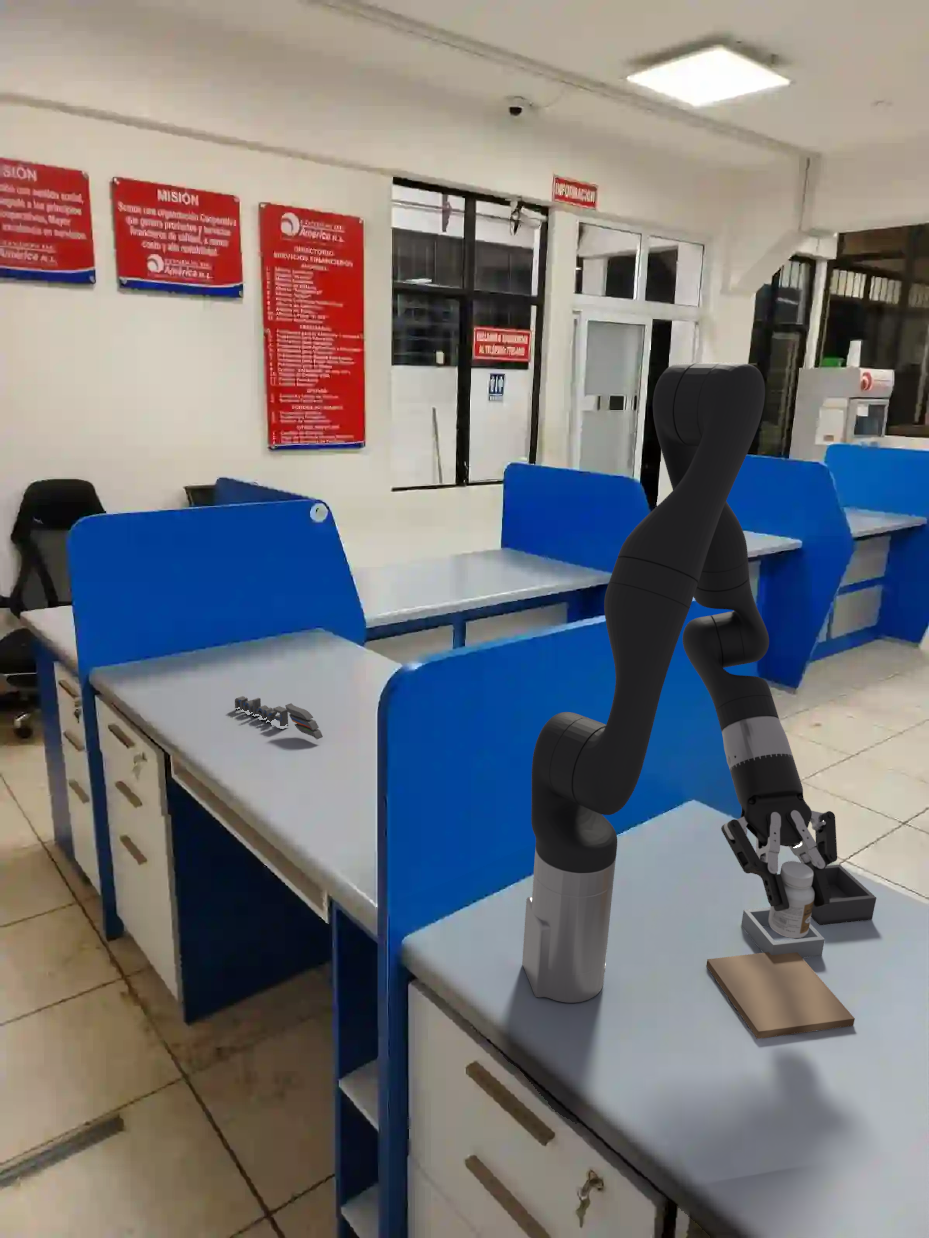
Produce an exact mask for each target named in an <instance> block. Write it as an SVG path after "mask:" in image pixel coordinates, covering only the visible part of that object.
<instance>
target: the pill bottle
mask: <svg viewBox="0 0 929 1238" xmlns="http://www.w3.org/2000/svg"><path fill="white" fill-rule="evenodd" d="M779 874H781V877H782V881H783V884H784V888H785V891H786V895H787V898H788V902H789V909H786V910H783V911H775V909H774V906H771V905H770V906H769V907H770V913H769V925H770V926H769V927H770V929H772V930H773V931H774V932H775V933H777V934H779V935H781V936H783V937H786V938H791V939H801V938H800V937H803V936H805V935H806V934H807V933H808V931H809V925H810V924H811V919H812V917H811V913H812V908H813V902H814V897H815V892H814V889H813V887H812V886H811V885H812V881H813V870H812V869H811V868H810V867H809V866H807V865H805V864H803V863H801V861H800V862H799V861H795V860H788V861H785V862H783V863H782V864H781V867H780V872H779Z"/></svg>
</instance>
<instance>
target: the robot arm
mask: <svg viewBox="0 0 929 1238" xmlns="http://www.w3.org/2000/svg"><path fill="white" fill-rule="evenodd" d="M765 386H766V385H765V379H764V377H763V374H762V373H761V371H760V369H758V368H757V367H756V366H754V365H753V364H750V363H744V362H732V361H731V362H730V361H729V362H727V361H726V362H724V361H723V362H721V361H718V362H717V361H712V362H711V361H709V362H706V361H704V362H703V361H701V362H698V361H697V362H679V363H675V364H672V365H670V366H668V367H667V368H666V369H664V371H663V372H662V373H661V375H660V376H659V378H658V380H657V383H656V385H655V386H654V387H655V388H654V390H653V399H652V414H653V416H652V417H653V423H654V427H655V431H656V436H657V439H658V443H659V446H660V447H659V448H660V449H661V454H662V457H663V460H664V465H665V467H666V471H667V475H668V478H669V483H670V485H671V488H672V491H671V492H670V493H669V494H668V495H667V496H666V497H665V498H664V499H663V500H662V501H661V502H660V503H659V504H658V505H657V506H655V508H654V509H652V511H650V512H649V513H648V514H647V515H646V516H645V517H644V518H643V519H642V520H641V521H640V522H639V523H638V524H637V525H635V527H634V529H632V531H631V532H630V533H629V534H628V536H627V537H626V538H625V541H624V542H623V543H622V545H621V548H620V549H619V552H618V555H617V558H616V561H615V562H614V563H615V564H614V567H613V570H612V572H611V576H610V578H609V582H608V584H607V588H606V590H605V593H604V594H605V595H604V601H603V602H604V603H603V605H604V606H603V609H604V618H605V619H604V620H605V622H606V624H605V625H606V630H607V634H608V639H609V644H610V648H611V653H612V657H613V664H614V670H615V671H614V672H615V686H614V694H613V697H612V698H613V699H612V703H611V708H610V712H609V715H608V719H607V722H606V724H605V723H603V722H600V721H598V720H595V719H592V718H589V717H587V716H584V715H581V714H578V713H576V712H569V711H564V712H563V711H562V712H559V713H556V714H555V715H553V716H551V718H549V719H548V721H546V723H545V724H544V725H543V727H542V728H541V730H540V731H539V734H538V737H537V739H536V743H535V746H534V748H533V749H534V750H533V753H532V762H531V797H530V798H531V800H530V801H531V803H530V804H531V808H530V810H531V811H530V812H531V814H530V816H531V817H530V819H531V820H530V821H531V828H532V832H533V834H534V836H535V848H534V849H535V850H534V851H535V852H534V861H533V862H534V864H533V865H534V866H533V877H532V878H533V880H532V892H531V893H532V895H531V896H528V897H526V901H525V902H526V904H525V913H524V914H525V918H524V932H523V944H522V945H523V947H522V959H521V960H522V962H521V963H522V967H523V969H524V972H525V974H526V977H527V979H528V982H529V984H530V987H531V989H532V992H533V994H534V996H535V997H536V998H548V999H550V1000H553V1001H557V1002H562V1003H574V1004H575V1003H582V1002H584V1001H589V1000H590V999H592V998H595V996H597V995H598V994H599V993H600V992H601V990H602V989H603V985H604V982H605V981H604V980H605V973H606V962H607V952H608V951H607V950H608V941H609V933H610V920H611V911H612V902H613V900H612V899H613V892H614V891H613V889H614V880H615V870H616V869H615V868H616V860H617V850H618V836H617V832H616V830H615V828H614V826H613V825H612V823H611V822H610V821H609V820H608V819H607V818H606V817H605V816H611V815H615V814H616V813H618V812H619V811H621V810H622V808H624V807H625V806H626V804H627V803H628V801H629V800H630V798H631V797H632V794H633V793H634V791H635V789H636V786H637V784H638V781H639V779H640V776H641V773H642V770H643V766H644V763H645V759H646V755H647V751H648V747H649V743H650V739H651V734H652V730H653V727H654V722H655V718H656V714H657V710H658V706H659V701H660V699H661V694H662V690H663V687H664V684H665V680H666V676H667V673H668V671H669V668H670V664H671V661H672V659H673V655H674V652H675V650H676V648H677V647H676V646H677V643H678V641H679V638H680V635H681V632H682V629H683V628H684V629H683V632H682V645H683V650H684V652H685V655H686V657H687V658H688V660H689V662H690V664H691V665H692V667H693V668H694V669H695V671H696V673H697V674H698V676H699V677H700V679H701V681H702V683H703V684H704V687H705V688H706V690H707V692H708V693H709V696H710V699H711V700H712V703H713V706H714V709H715V713H716V716H717V721H718V723H719V727H720V731H721V734H722V740H723V742H722V743H723V750H724V753H725V757H726V764H727V765H728V768H729V772H730V776H731V779H732V783H733V786H734V790H735V791H734V792H735V794H736V798H737V801H738V803H739V805H740V806H741V812H740V813H741V814H740V818H738V819H731V820H729V821H727V822H726V823H724V824H723V825H721V832H722V835H724V838H725V840H726V842H727V844H728V845H729V847H730V848H731V850H732V852H733V854H734V857H735V858H736V860H737V862H738V863H739V865H740V867H741V869H742V871H743V872H744V873H745V874H753V875H756V876H759V878H761V881H762V883H763V887H764V890H765V891H764V892H765V895H766V899H767V902H768V903H769V905H770V907H771V906H774V909H775V911H783V910H786V909H789V902H788V898H787V895H786V891H785V888H784V884H783V881H782V877H781V874H780V873H779V874H778V871H779V853H780V852H781V846H782V847H789V849H790V850H791V853H792V854H793V855H794V856H795V857H797V858H798V859H799V861H800V863H803V864H805V865H807V866H809V867H810V868H811V869H812V870H813V881H812V885H811V886H812V887H813V889H814V892H815V897H814V905H815V906H816V907H821V906H825V905H828V904H829V903H830V900H829V899H831V891H830V889H829V885H828V881H827V878H826V875H825V871H824V870H825V867H826V866H829V865H831V864H832V863H835V862H836V861H837V860H838V846H837V845H838V844H837V843H838V841H837V829H836V827H837V826H836V825H837V824H836V816H835V813H834V812H833V811H830V810H827V811H825V812H821V811H820V812H819V811H815V810H812V809H811V807H810V806H809V804H807V802H806V801H805V798H804V789H803V784H802V781H801V778H800V774H799V771H798V768H797V764H796V762H795V759H794V755H793V752H792V749H791V745H790V742H789V739H788V736H787V734H786V732H785V730H784V727H783V725H782V723H781V720H780V718H779V714H778V710H777V707H776V704H775V701H774V698H773V694H772V692H771V688H770V687H769V684H768V682H767V681H766V680H765V679H764V678H762V677H759V676H754V675H743V674H742V675H741V674H740V675H739V674H735V673H730V672H728V671H727V670H726V669H725V668H729V667H730V668H731V667H737V666H742V665H747V664H752V663H756V662H758V661H760V660H761V659H762V658H763V657H764V656H765V655H766V654H767V652H768V650H769V645H770V637H769V632H768V630H767V627H766V624H765V622H764V620H763V618H762V615H761V614H760V612H759V610H758V607H757V605H756V601H755V599H754V595H753V590H752V587H751V581H750V569H749V557H748V556H749V555H748V554H749V553H748V546H747V545H748V544H747V539H746V536H745V533H744V530H743V527H742V525H741V523H740V521H739V519H738V517H737V516H736V514H735V513H734V511H733V509H732V508H731V506H730V505H729V503H728V502H727V501H728V500H727V499H728V498H729V495H730V493H731V490H732V488H733V486H734V483H735V481H736V479H737V477H738V474H739V472H740V470H741V468H742V465H743V464H744V461H745V459H746V457H747V454H748V453H749V450H750V448H751V446H752V444H753V443H752V442H753V440H754V439H755V436H756V433H757V430H758V428H759V426H760V422H761V419H762V415H763V410H764V406H765V400H766V399H765V398H766V387H765ZM693 599H694V600H695V602H696V603H697V604H698V605H700V606H702V607H703V608H709V609H714V610H729V611H727V612H723V613H718V614H713V615H711V614H710V615H707V616H706V615H705V616H700V617H696V618H694V619H692V620H690V621H689V622H688V623H687V624H686V626H685V627H683V626H684V624H685V621H686V619H687V616H688V614H689V612H690V609H691V606H692V602H693ZM810 823H811V829H812V830H814V831H815V839H814V837H813V836H812V833H811V832H810V830H809V825H810ZM748 831H749V832H750V833H751V834H752V835H753V836H754V837H755V838H756V839H755V844H756V845H755V847H756V848H754V846H753V845H752V843H751V841H750V839H749V837H748V836H747V835H748Z"/></svg>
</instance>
